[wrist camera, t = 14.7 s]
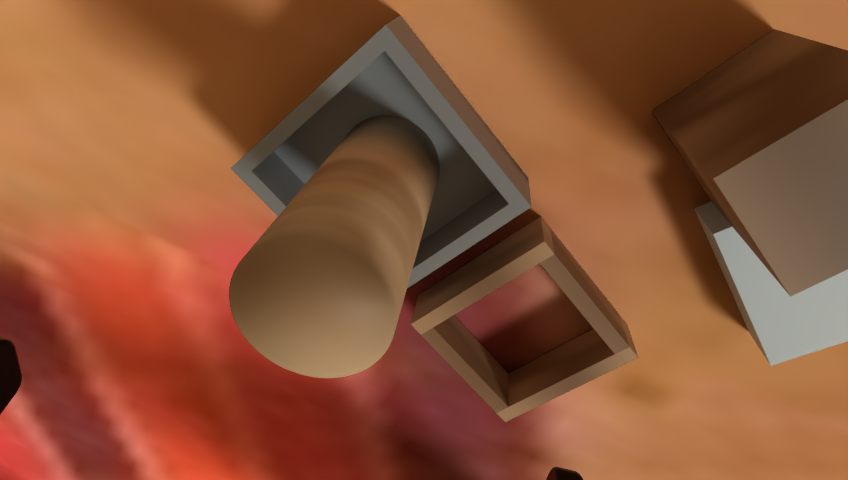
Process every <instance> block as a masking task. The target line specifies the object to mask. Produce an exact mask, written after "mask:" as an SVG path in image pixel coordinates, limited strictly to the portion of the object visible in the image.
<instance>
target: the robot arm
mask: <svg viewBox="0 0 848 480" xmlns="http://www.w3.org/2000/svg"><path fill="white" fill-rule="evenodd" d="M21 381H22V373H21V369H20V365H19V361H18V356H17V352H16V348H15V345H14V343H13V342H12V341H11V340H8V339H5V338H1V337H0V414H1V413H2V412H3V410H4V409H5V407H6V406H7V405H8V403H9V402H10V401H11V399H12V398H13V397H14V395H15V394H16V392H17V391H18V389H19V387H20V385H21ZM546 480H583V478H582V477H581V475H580V474H579V473H577V472H576V471H572V470H568V469H564V468H559V467H554V468H552V469H551V471H550V472H549V475H548V477H547V479H546Z"/></svg>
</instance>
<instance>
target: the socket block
mask: <svg viewBox="0 0 848 480" xmlns="http://www.w3.org/2000/svg"><path fill="white" fill-rule="evenodd" d="M539 263H540V264H541V265H542V267H543V268H544V269H545V270H546V271H547V273H548V274H549V275H550V276H551V277H552V279H553V280H554V281H555V282H556V283H557V285H558V286H559V287H560V288H561V290H562V291H563V292H564V293H565V294H566V296H567V297H568V298H569V299H570V300H571V302H572V303H573V304H574V305H575V307H576V308H577V309H578V310H579V311H580V313H581V314H582V315H583V316H584V317H585V319H586V320H587V321H588V322H589V323H590V325H591V326H592V327H593V329H592V330H590V331H588V332H586V333H584V334H582V335H580V336H578V337H576V338H574V339H573V340H571V341H569V342H567V343H565V344H563V345H561V346H559V347H557V348H555V349H553V350H552V351H550V352H548V353H546V354H544V355H542V356H540V357H538V358H536V359H534V360H533V361H531V362H529V363H527V364H525V365H523V366H521V367H519V368H517V369H515V370H514V371H512V372H510V373H507V372H506V371H505V369H504V368H503V367H502V366H501V365H500V364H499V363H498V362H497V361H496V360H495V359H494V358H493V357H492V355H491V354H490V353H489V352H488V351H487V350H486V349H485V348H484V347H483V346H482V345H481V344H480V342H479V341H478V340H477V339H476V338H475V337H474V336H473V335H472V334H471V333H470V332H469V331H468V330H467V328H466V327H465V326H464V325H463V324H462V323H461V322H460V321H459V320H458V319H457V318H456V317H455V314H456V313H458V312H460V311H461V310H463V309H465V308H466V307H468V306H470V305H471V304H473V303H474V302H476V301H478V300H479V299H481V298H483V297H484V296H486V295H488V294H489V293H491V292H493V291H494V290H496V289H498V288H499V287H501V286H503V285H504V284H506V283H508V282H509V281H511V280H513V279H514V278H516V277H518V276H519V275H521V274H522V273H524V272H526V271H527V270H529V269H531V268H532V267H534V266H536V265H537V264H539ZM411 325H412V326H413V327H414V328H415V329H416V330H417V331H418V332H419V333H420V334H421V335H422V336H423V338H424V339H425V340H426V341H427V342H428V343H429V344H430V345H431V346H432V347H433V348H434V349H435V350H436V351H437V352H438V353H439V354H440V355H441V356H442V357H443V358H444V359H445V360H446V361H447V362H448V363H449V364H450V365H451V366H452V368H453V369H454V370H455V371H456V372H457V373H458V374H459V375H460V376H461V377H462V378H463V379H464V380H465V381H466V382H467V383H468V384H469V385H470V386H471V387H472V388H473V389H474V390H475V391H476V392H477V393H478V394H479V395H480V396H481V398H482V399H483V400H484V401H485V402H486V403H487V404H488V405H489V406H490V407H491V408H492V409H493V410H494V411H495V412H496V413H497V414H498V415H499V416H500V417H501V418H502V419H503V420H504V421H505V422H507V421H509V420H511V419H513V418H515V417H517V416H519V415H521V414H523V413H525V412H527V411H529V410H531V409H533V408H535V407H538V406H540V405H542V404H544V403H546V402H548V401H550V400H552V399H554V398H556V397H558V396H560V395H562V394H564V393H566V392H569V391H571V390H573V389H575V388H577V387H579V386H581V385H583V384H585V383H587V382H589V381H591V380H593V379H595V378H597V377H599V376H602V375H604V374H606V373H608V372H610V371H612V370H614V369H616V368H618V367H620V366H622V365H624V364H626V363H628V362H630V361H633V360H635V359H637V358H638V355H637V352H636V349H635V346H634V343H633V340H632V337H631V334H630V331H629V328H628V325H627V324H626V323H625V321H624V320H623V319H622V318H621V316H620V315H619V314H618V313H617V311H616V310H615V309H614V308H613V306H612V305H611V304H610V303H609V301H608V300H607V299H606V297H605V296H604V295H603V294H602V292H601V291H600V290H599V289H598V287H597V286H596V285H595V284H594V282H593V281H592V280H591V279H590V277H589V276H588V275H587V274H586V272H585V271H584V270H583V269H582V267H581V266H580V265H579V264H578V262H577V261H576V260H575V259H574V257H573V256H572V255H571V254H570V252H569V251H568V250H567V249H566V247H565V246H564V245H563V244H562V242H561V241H560V240H559V239H558V237H557V236H556V235H555V233H554V232H553V231H552V230H551V228H550V227H549V226H548V225H547V223H546V222H545V221H544V220H543V218H542V217H541V216H540V217H539V218H537V219H536V220H534V221H532V222H531V223H529V224H528V225H526V226H525V227H523V228H522V229H520V230H518V231H517V232H515V233H514V234H512V235H511V236H509V237H508V238H506V239H504V240H503V241H501V242H500V243H498V244H497V245H495V246H494V247H492V248H490V249H489V250H487V251H486V252H484V253H483V254H481V255H480V256H478V257H476V258H475V259H473V260H472V261H470V262H469V263H467V264H466V265H464V266H462V267H461V268H459V269H458V270H456V271H455V272H453V273H452V274H450V275H448V276H447V277H445V278H444V279H442V280H441V281H439V282H438V283H436V284H434V285H433V286H431V287H430V288H428V289H427V290H425V291H424V292H422V293H421V294H419V295H418V297H417V301H416V305H415V309H414V313H413V317H412V321H411Z"/></svg>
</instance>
